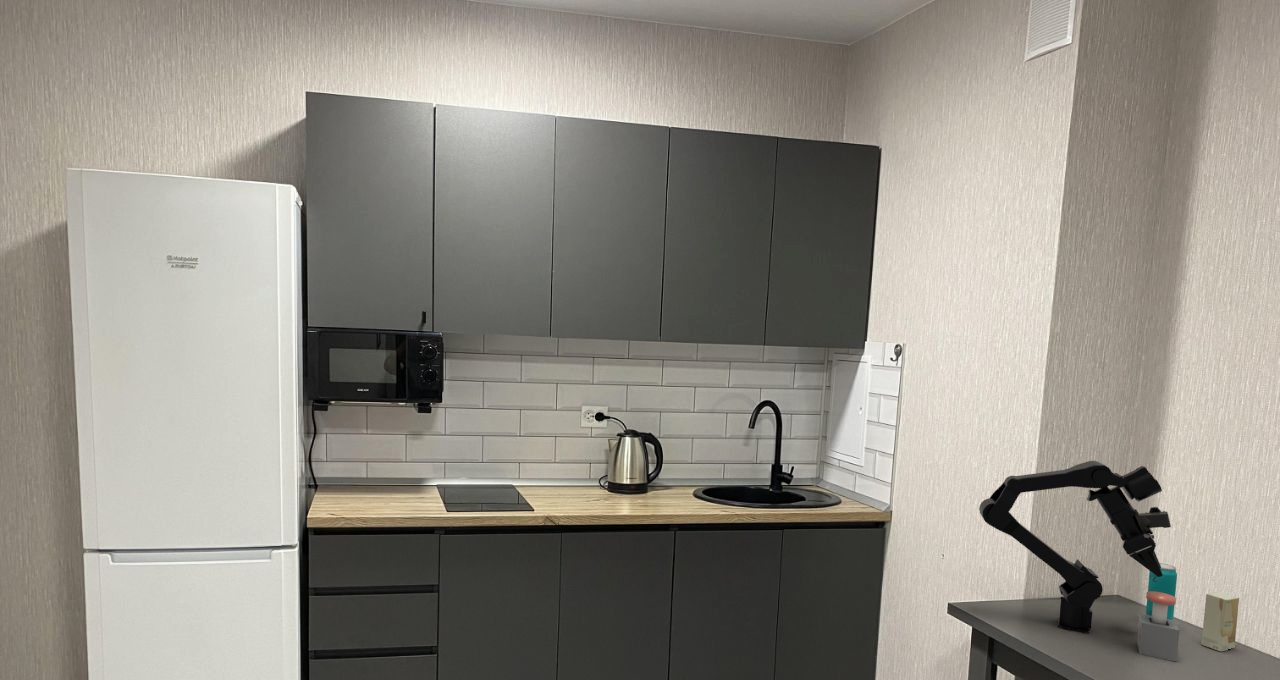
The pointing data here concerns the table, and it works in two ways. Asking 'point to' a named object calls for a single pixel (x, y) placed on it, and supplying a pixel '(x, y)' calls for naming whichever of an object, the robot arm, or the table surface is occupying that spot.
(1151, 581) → the beverage can
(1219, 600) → the skincare box
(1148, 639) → the button housing
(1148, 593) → the red plunger
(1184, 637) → the table surface
